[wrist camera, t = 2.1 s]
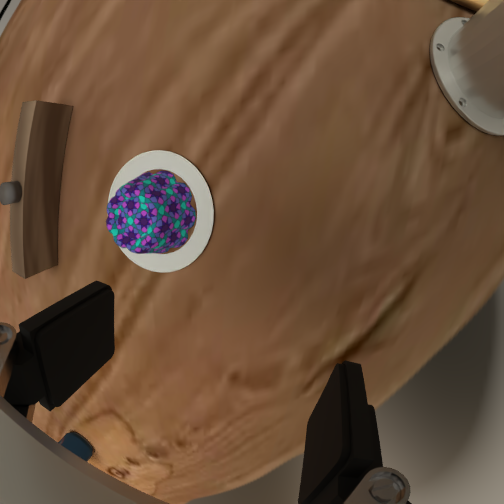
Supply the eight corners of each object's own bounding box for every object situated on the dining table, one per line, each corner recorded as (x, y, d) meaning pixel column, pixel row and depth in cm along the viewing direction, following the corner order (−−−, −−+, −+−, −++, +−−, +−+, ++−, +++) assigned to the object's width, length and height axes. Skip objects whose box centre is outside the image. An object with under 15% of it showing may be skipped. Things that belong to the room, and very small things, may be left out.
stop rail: (73, 106, 27) (22, 98, 20) (57, 264, 33) (13, 284, 25) (58, 106, 27) (9, 100, 20) (44, 258, 33) (1, 275, 26)
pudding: (161, 292, 31) (135, 312, 26) (95, 208, 30) (63, 216, 25) (242, 217, 27) (226, 227, 22) (161, 125, 26) (132, 118, 21)
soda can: (66, 424, 44) (34, 458, 33) (92, 440, 43) (61, 478, 32) (72, 441, 46) (44, 473, 35) (97, 457, 45) (70, 492, 34)
